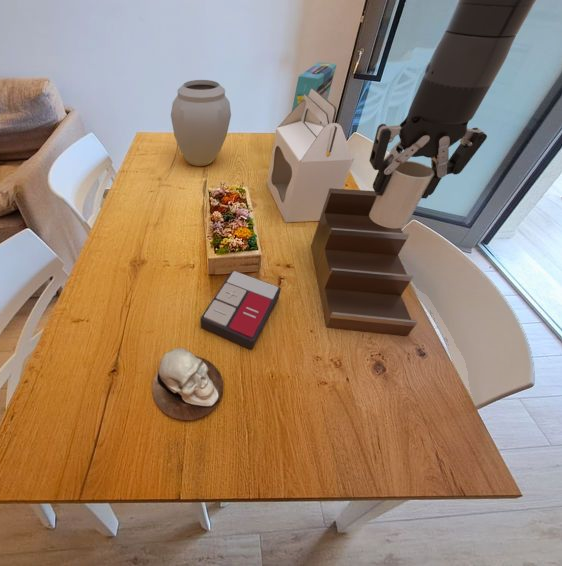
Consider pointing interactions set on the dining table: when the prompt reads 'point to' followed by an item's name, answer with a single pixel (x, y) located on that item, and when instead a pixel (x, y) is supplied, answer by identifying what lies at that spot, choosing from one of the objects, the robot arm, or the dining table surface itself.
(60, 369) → the dining table surface
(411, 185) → the cup
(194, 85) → the vase
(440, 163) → the robot arm
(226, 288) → the calculator
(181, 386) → the skull
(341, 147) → the gable box
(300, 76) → the game box
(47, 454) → the dining table surface
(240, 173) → the dining table surface
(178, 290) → the dining table surface
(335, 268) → the shelf rack
